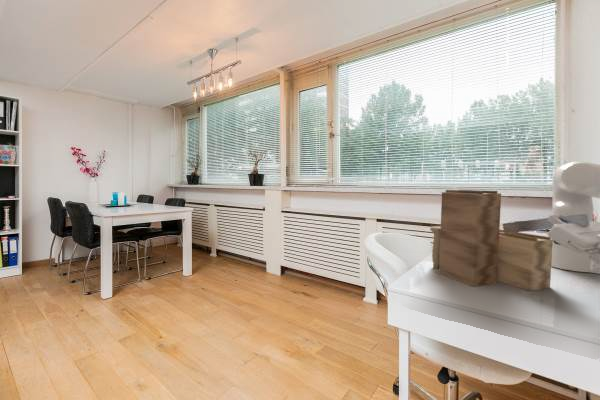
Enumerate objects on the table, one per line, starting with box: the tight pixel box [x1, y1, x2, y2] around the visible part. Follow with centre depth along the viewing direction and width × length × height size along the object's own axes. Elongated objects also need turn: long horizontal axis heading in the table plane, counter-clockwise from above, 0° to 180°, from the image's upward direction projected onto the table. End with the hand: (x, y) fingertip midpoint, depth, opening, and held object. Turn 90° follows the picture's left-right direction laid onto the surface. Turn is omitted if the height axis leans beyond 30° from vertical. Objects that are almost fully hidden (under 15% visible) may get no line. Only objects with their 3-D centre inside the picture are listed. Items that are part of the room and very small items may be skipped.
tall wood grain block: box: [438, 189, 502, 288], centre depth 94 cm, size 10×13×29 cm
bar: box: [502, 214, 590, 233], centre depth 84 cm, size 3×20×3 cm, turn 22°
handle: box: [430, 225, 441, 270], centre depth 105 cm, size 5×6×15 cm
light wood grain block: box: [497, 228, 553, 292], centre depth 92 cm, size 9×15×15 cm, turn 20°
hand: (555, 216), depth 80 cm, fingers closed on bar, 3 cm apart
